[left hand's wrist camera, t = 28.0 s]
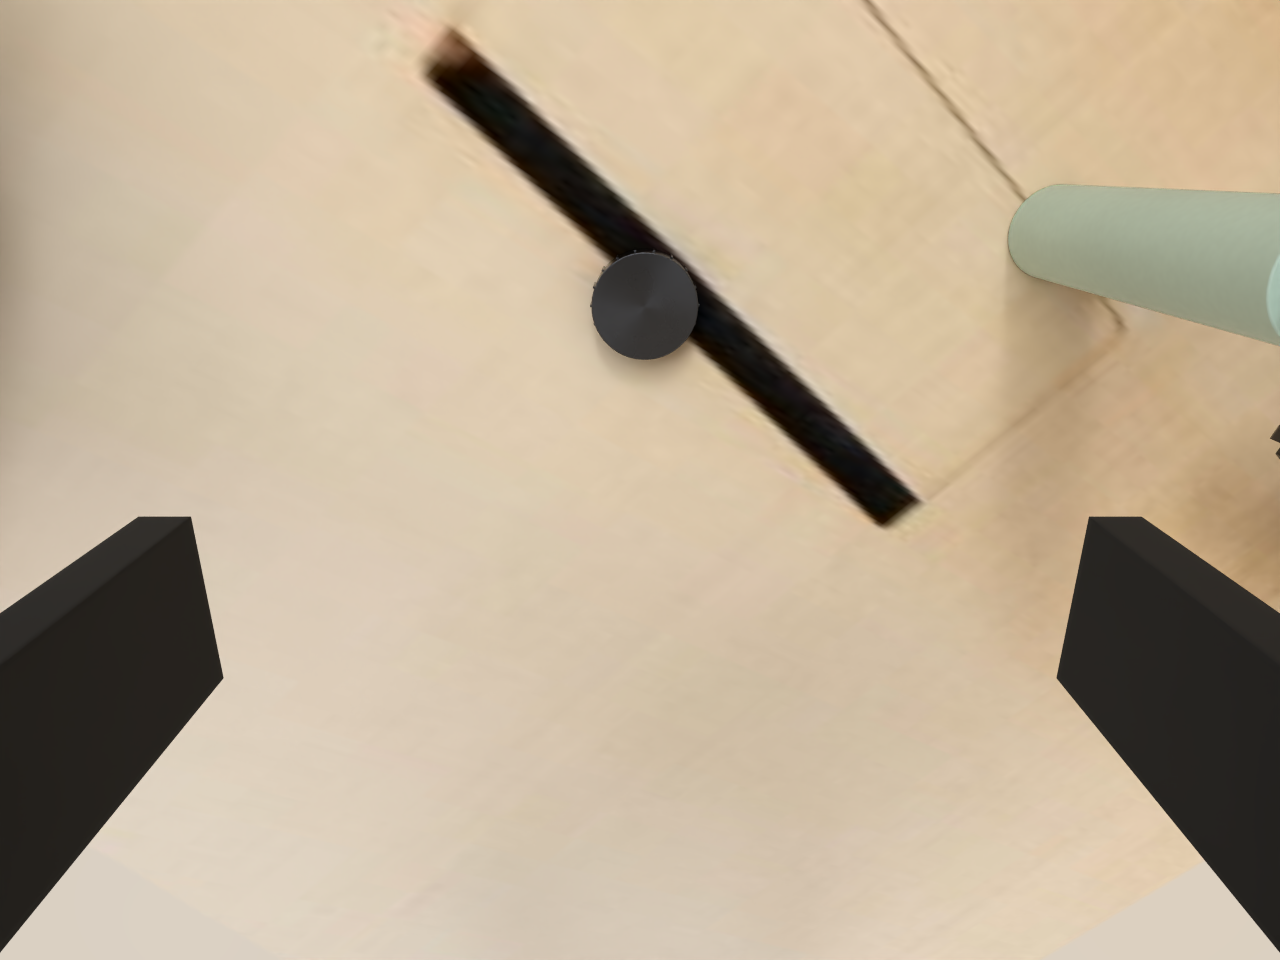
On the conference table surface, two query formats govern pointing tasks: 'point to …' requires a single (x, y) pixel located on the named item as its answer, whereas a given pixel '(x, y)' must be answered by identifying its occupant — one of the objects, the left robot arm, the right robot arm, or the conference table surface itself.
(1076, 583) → the left robot arm
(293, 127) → the conference table surface
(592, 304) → the lid
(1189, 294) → the pale green bottle
